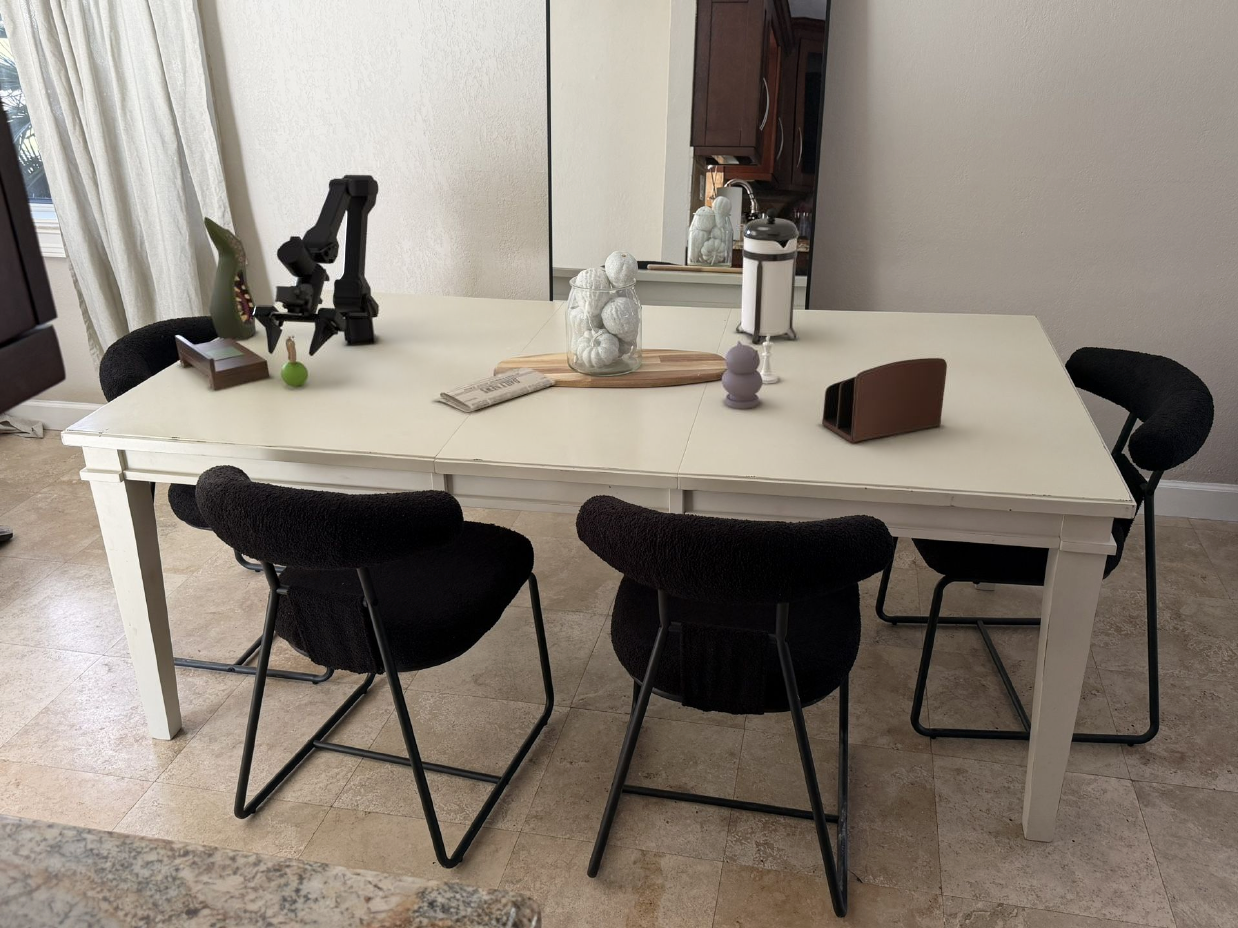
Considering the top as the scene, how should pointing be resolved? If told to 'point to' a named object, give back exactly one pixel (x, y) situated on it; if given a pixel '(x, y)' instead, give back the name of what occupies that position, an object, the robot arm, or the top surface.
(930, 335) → the top surface
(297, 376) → the snail figurine
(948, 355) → the top surface
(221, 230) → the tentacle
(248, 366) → the wooden display stand
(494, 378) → the newspaper
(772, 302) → the coffee press
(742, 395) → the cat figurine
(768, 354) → the chess piece
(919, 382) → the letter holder
